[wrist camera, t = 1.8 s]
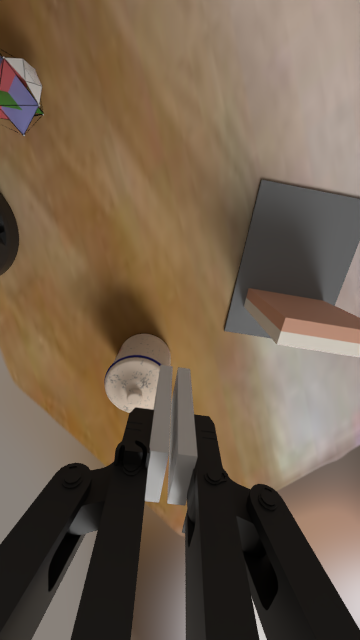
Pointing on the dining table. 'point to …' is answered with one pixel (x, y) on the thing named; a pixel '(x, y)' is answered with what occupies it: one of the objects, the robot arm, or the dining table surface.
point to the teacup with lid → (136, 372)
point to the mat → (295, 248)
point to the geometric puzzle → (19, 92)
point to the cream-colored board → (305, 322)
